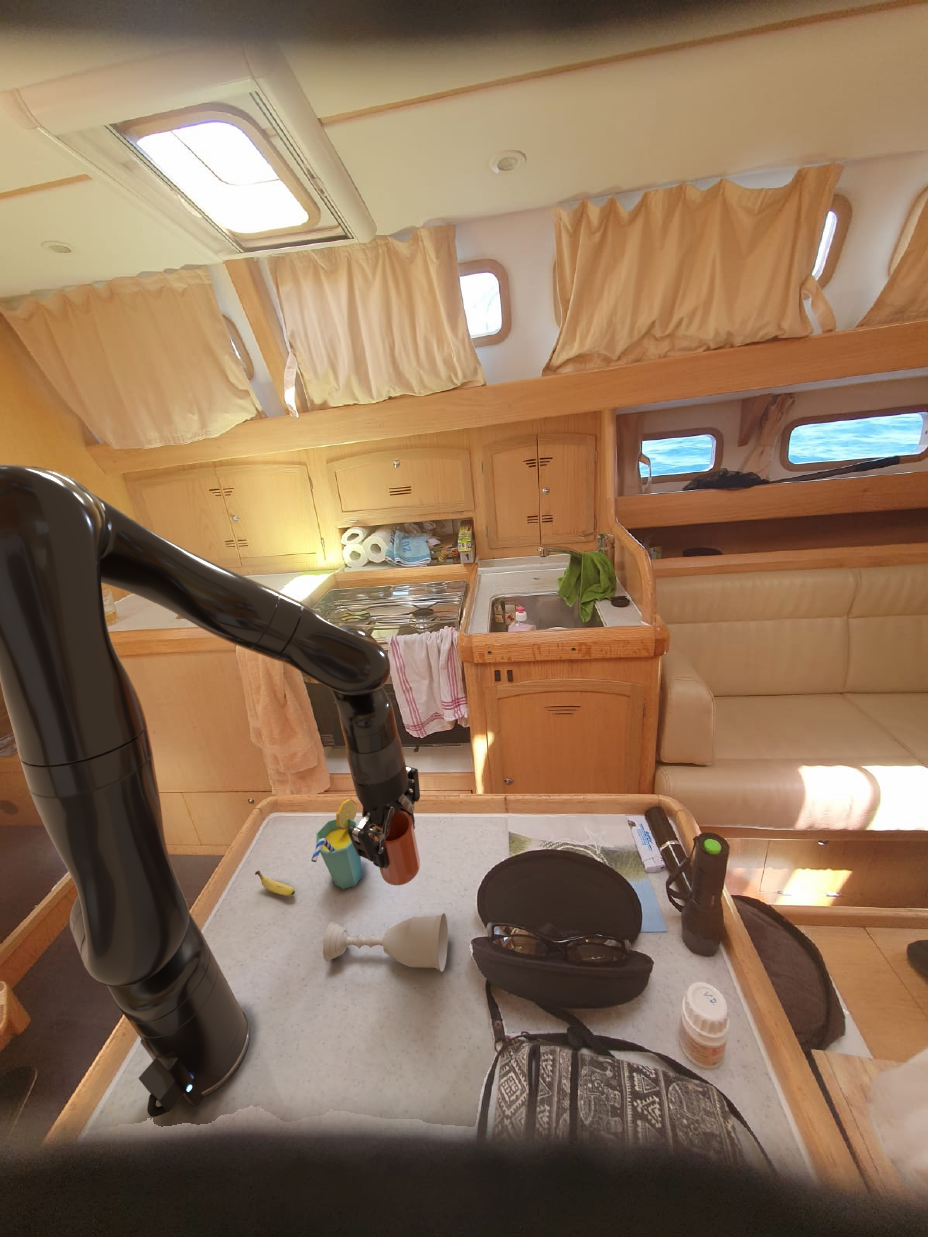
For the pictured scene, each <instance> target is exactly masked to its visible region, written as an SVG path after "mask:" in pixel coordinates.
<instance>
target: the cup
mask: <svg viewBox="0 0 928 1237" xmlns="http://www.w3.org/2000/svg"><path fill="white" fill-rule="evenodd" d="M356 816H357V803H356V802H355V801H354V800H353V799H352V798H348V799H346V800H344V801H343V802H341V804H340V806H339V808H338V810H337V812H336V815H335V819H332V820H329V821H327V822H326V824H324V825H323V826H322V827H321V829H320V830H318V831H317V833H316V834H315V835H316V836H315V849H314V852H313V854H312V857H311V862H313V863H316V862H317V860H318V858H319V856H320V855H321V858H322V860H323V861H324V864H325V866H326V868H327V870H328V872H329V875H330V877H331V879H332V880H333V883H334V885H335V886H336V887H339V888H340V889H343V890H345V889H348V888H352V887H355V886H356V885H357V884H358V883H359V881H360V880H361V879H362V878H363V865H362V859H361V858H362V857H361V856H358V855H357V852H356V850H355V848H354V846H353V843H352V841H351V839H350V837H349V834H348V830H349V828H350V826H352V825H354V826H357V825H358V822H357V821H355V818H356Z"/></svg>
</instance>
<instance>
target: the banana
mask: <svg viewBox="0 0 928 1237" xmlns="http://www.w3.org/2000/svg"><path fill="white" fill-rule="evenodd" d="M254 875H255V876H256V875H257V876H258V877H259V879H260V880H261V881H260V882H261V885H262V887H263V888H264V889H266V890H267V891H268V892H271V893H274V894H276V895H280V896H284V897H292V896H294V895H295V893H296V891H295V889H294V887H292V886H291V885H288V884H286V883H282V882H279V881H276V880H273V879H271V878H269V877H266V876H264V875H263V874H262V873H261V870H256V871H255V873H254Z"/></svg>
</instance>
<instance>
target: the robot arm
mask: <svg viewBox="0 0 928 1237" xmlns="http://www.w3.org/2000/svg"><path fill="white" fill-rule="evenodd" d="M102 584H104V585H107V586H111V587H114V588H117V589H120V590H122V591H126V592H128V593H130V594H132V595H133V594H134V595H135V596H139V597H140V598H143V599H145V600H148V601H150V602H152V603H154V604H156V605H159V606H161V607H162V608H164V609H166V610H168V611H170V612H172V613H174V614H176V615H178V616H180V617H181V618H183V619H185V620H187V621H188V622H190V623H191V624H193V625H195V626H197V627H198V628H200V629H202V630H204V631H206V632H208V633H210V634H211V635H214V636H216V637H218V638H219V639H222V640H224V641H226V642H229V643H230V644H233V645H234V646H238V647H240V648H242V649H245V650H248V651H250V652H252V653H253V652H254V653H255V654H259V655H261V656H264V657H266V658H269V659H271V660H274V661H277V662H281V663H284V664H286V665H288V666H290V667H292V668H294V669H295V670H297V671H299V672H300V673H302V674H304V675H305V676H306V677H309V678H311V679H313V680H314V681H315V682H318V683H320V684H321V685H323V686H325V687H327V688H329V689H330V691H331V693H332V697H333V699H334V702H335V704H336V707H337V712H338V716H339V722H340V728H341V732H342V735H343V740H344V744H345V751H346V752H345V753H346V759H347V764H348V767H349V772H350V775H351V779H352V784H353V788H354V791H355V796H356V797H357V799H358V801H359V802H360V804H361V806H362V812H361V820H360V821H359V822H358V823H357V826H354V825H352V826H350V828H349V830H348V834H349V837H350V839H351V841H352V843H353V846H354V848H355V850H356V852H357V855H358V856H360V857H361V858H363V859H366V860H368V861H370V862H372V864H373V865H374V866H375V867H378V868H379V867H380V868H382V869H383V868H385V869H387V867H388V866H389V859H388V855H387V851H386V848H385V842H386V837H387V836H389V834H390V826H391V821H392V819H393V818H394V816H395V815H396V814H397V813H398V812H399V811H400V810H402V811H405V812H407V813H408V814H409V815H410V816H411V818H412V822H413V827H414V830H415V829H416V825H415V822H416V820H415V814H414V811H415V807H416V806H415V803H418V802H419V801H420V799H421V789H420V780H419V779H420V778H419V769H418V768H415V767H413V766H409V765H407V764H406V760H405V759H406V758H405V753H404V749H403V745H402V740H401V738H400V735H399V730H398V727H397V722H396V717H395V712H394V708H393V705H392V704H393V703H392V702H391V699H390V697H389V696H388V694H387V692H386V691H385V689H384V686H385V685H386V683H387V682H388V680H389V678H390V674H391V662H390V658H389V656H388V653H387V652H386V650H385V649H384V647H383V646H382V645H381V644H380V643H379V642H378V641H377V640H376V638H374V636H373V635H371V633H370V632H369V631H367V630H366V629H365V628H363V627H361V626H360V625H357V624H353V623H345V624H341V625H335V624H333V623H331V622H329V621H328V620H327V619H325V617H323V616H322V615H321V614H320V613H319V612H317V611H316V610H315V609H314V608H311V607H310V606H308V605H307V604H305V603H303V602H302V601H299V600H297V599H294V598H292V597H290V596H288V595H286V594H284V593H283V592H280V591H278V590H275V589H274V588H271V587H269V586H268V585H265V584H262V583H261V582H258V581H256V580H253V579H251V578H249V577H247V576H245V575H243V574H240V573H238V572H235V571H233V570H230V569H228V568H226V567H224V566H222V565H219V564H217V563H215V562H213V561H210V560H208V559H206V558H204V557H202V556H200V555H197V554H196V553H194V552H191V551H190V550H188V549H186V548H183V547H182V546H179V545H178V544H176V543H174V542H172V541H171V540H169V539H167V538H165V537H163V536H161V535H159V534H158V533H156V532H154V531H152V530H150V529H148V528H147V527H145V525H142V524H141V523H139V522H137V521H136V520H134V519H132V518H131V517H129V516H128V515H126V514H125V513H123V512H122V511H121V510H119V509H117V508H116V507H115V506H113V505H112V504H111V503H109V502H107V501H105V500H104V499H102V498H101V497H100V496H99V495H97V494H95V493H94V492H93V491H91V490H90V489H89V488H88V487H86V486H85V485H84V484H82V483H81V482H80V481H78V480H77V479H75V478H73V477H72V476H69V475H68V474H65V473H63V472H59V471H56V470H53V469H49V468H45V467H41V466H40V467H39V466H29V465H21V464H8V463H7V464H6V463H5V464H0V685H1V687H0V688H1V691H2V695H3V700H4V704H5V707H6V710H7V714H8V717H9V721H10V725H11V729H12V733H13V737H14V740H15V746H16V750H17V753H18V757H19V761H20V764H21V767H22V771H23V774H24V778H25V781H26V784H27V787H28V790H29V794H30V796H31V799H32V801H33V803H34V806H35V808H36V810H37V813H38V815H39V817H40V819H41V822H42V825H43V826H44V829H45V830H46V832H47V834H48V836H49V839H50V840H51V842H52V844H53V846H54V848H55V850H56V852H57V853H58V855H59V857H60V859H61V861H62V862H63V864H64V866H65V868H66V869H67V871H68V873H69V876H70V877H71V880H72V881H73V884H74V886H75V889H76V892H77V896H76V898H75V900H74V901H73V904H72V907H71V910H70V915H69V930H70V933H71V935H72V938H73V940H74V943H75V946H76V948H77V951H78V954H79V956H80V959H81V962H82V964H83V967H84V968H85V970H86V972H87V974H88V975H89V976H90V977H91V978H92V979H93V980H95V981H96V982H97V983H100V984H102V985H104V986H106V987H107V989H108V991H109V993H110V995H111V997H112V999H113V1002H114V1003H115V1004H116V1006H117V1007H118V1009H119V1010H120V1011H121V1013H122V1015H123V1016H124V1017H125V1019H126V1020H127V1021H128V1022H129V1024H130V1025H131V1027H132V1028H133V1030H134V1031H135V1032H136V1034H137V1035H138V1036H139V1038H140V1040H139V1041H140V1044H141V1045H142V1047H143V1048H144V1050H145V1051H146V1053H147V1054H148V1056H149V1057H150V1058H151V1059H152V1062H151V1063H150V1064H149V1065H148V1066H147V1067H146V1068H145V1070H144V1071H143V1072H142V1073H141V1074H140V1076H138V1080H139V1082H141V1084H142V1085H143V1087H144V1088H145V1089H146V1090H147V1091H148V1093H149V1094H150V1095H149V1096H148V1102H147V1108H146V1110H147V1114H148V1116H149V1117H150V1118H157V1117H160V1116H162V1115H165V1114H168V1113H170V1112H171V1111H172V1110H173V1109H174V1107H175V1106H176V1105H177V1103H178V1102H179V1101H180V1099H181V1098H182V1097H183V1098H184V1099H185V1100H187V1101H188V1102H189V1103H190V1105H192V1107H197V1105H199V1103H200V1102H201V1100H202V1099H203V1098H204V1097H206V1096H209V1095H210V1094H212V1093H214V1092H215V1091H216V1090H218V1089H219V1088H220V1087H222V1086H223V1085H224V1084H225V1083H226V1082H227V1081H228V1080H229V1079H230V1078H231V1077H232V1076H233V1074H235V1072H236V1070H238V1067H239V1066H240V1064H241V1063H242V1061H243V1059H244V1057H245V1055H246V1052H247V1050H248V1047H249V1043H250V1039H251V1025H250V1021H249V1018H248V1017H247V1015H246V1013H245V1012H244V1011H243V1008H242V1007H241V1005H240V1003H239V1002H238V999H237V998H236V996H235V994H234V992H233V990H232V988H231V986H230V984H229V982H228V980H227V978H226V976H225V975H224V972H223V971H222V969H221V967H220V965H219V963H218V961H217V960H216V957H215V955H214V954H213V952H212V950H211V948H210V945H209V944H208V942H207V940H206V938H205V936H204V934H203V932H202V930H201V929H200V927H199V925H198V924H197V922H196V920H195V919H194V917H193V915H192V914H191V912H190V907H189V903H188V900H187V898H186V896H185V894H184V892H183V889H182V887H181V885H180V882H179V879H178V877H177V874H176V872H175V869H174V866H173V862H172V860H171V856H170V854H169V851H168V847H167V843H166V837H165V831H164V823H163V822H164V820H163V813H162V812H163V811H162V804H161V797H160V790H159V785H158V784H159V783H158V778H157V773H156V765H155V759H154V752H153V747H152V742H151V738H150V733H149V728H148V723H147V719H146V714H145V712H144V708H143V706H142V702H141V700H140V697H139V695H138V692H137V689H136V687H135V685H134V684H133V681H132V679H131V678H130V676H129V674H128V671H127V669H126V668H125V667H124V665H123V663H122V661H121V659H120V657H119V655H118V653H117V651H116V649H115V646H114V644H113V640H112V638H111V635H110V631H109V626H108V622H107V617H106V610H105V601H104V593H103V587H102ZM375 824H376V825H380V826H383V828H379V827H377V826H375ZM375 836H376V837H378V842H376V841H374V839H375ZM380 868H379V869H380ZM157 1102H158V1103H159V1104H160V1105H159V1106H157Z"/></svg>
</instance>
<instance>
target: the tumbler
mask: <svg viewBox="0 0 928 1237" xmlns="http://www.w3.org/2000/svg"><path fill="white" fill-rule="evenodd" d="M375 826H377V827H379V828H383V826H380V825H376V824H375ZM374 841H376V842H378V837H376V836H375V839H374ZM385 848H386V851H387V855H388V859H389V866H388V867H387V869H385V868H383V869H382V868H380V867H378V868H379V870H380V875H381V877H382V879H383V880H384V881H385V883H386V884H389V885H391V886H403V885H405V884H408V883H410V882H411V881H413V879H415V877H416V876H417V875H418V873H419V871H420V868H421V860H420V855H419V848H418V842H417V839H416V832H415V829H414V827H413V822H412V818H411V816H410V815H409V814H408V813H407V812H405V811H402V810H400V811H399V812H398V813H397V814H396V815H395V816H394V818H393V819H392V821H391V826H390V834H389V836H387V837H386V842H385Z"/></svg>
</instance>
